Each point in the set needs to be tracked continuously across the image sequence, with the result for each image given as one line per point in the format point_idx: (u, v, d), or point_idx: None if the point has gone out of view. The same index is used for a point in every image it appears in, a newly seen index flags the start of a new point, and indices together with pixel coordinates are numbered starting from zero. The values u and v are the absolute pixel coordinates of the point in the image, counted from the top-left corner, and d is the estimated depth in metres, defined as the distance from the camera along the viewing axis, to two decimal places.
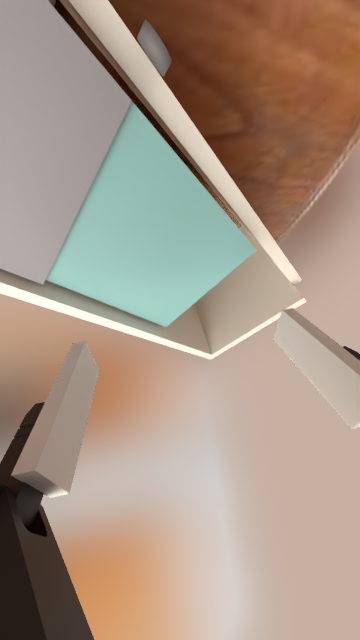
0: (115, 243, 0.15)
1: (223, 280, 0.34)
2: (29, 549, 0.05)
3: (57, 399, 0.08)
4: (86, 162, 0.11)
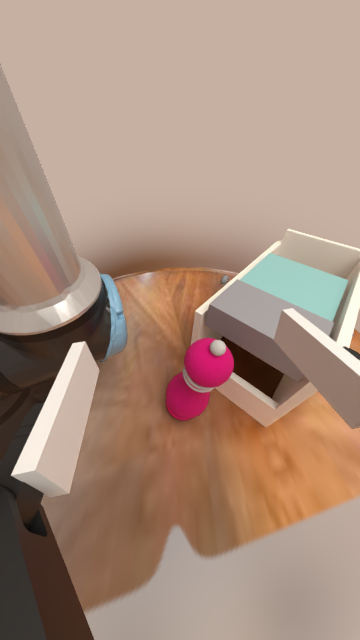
0: (288, 293, 0.29)
1: None
2: (29, 549, 0.05)
3: (57, 399, 0.08)
4: (257, 290, 0.28)
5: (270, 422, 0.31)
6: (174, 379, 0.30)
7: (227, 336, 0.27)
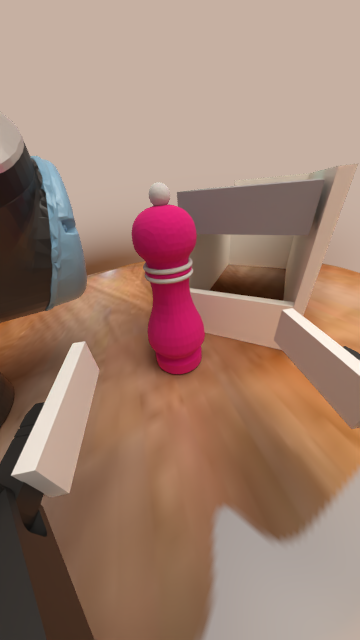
0: None
1: None
2: (29, 549, 0.05)
3: (57, 399, 0.08)
4: None
5: None
6: None
7: (209, 230, 0.22)
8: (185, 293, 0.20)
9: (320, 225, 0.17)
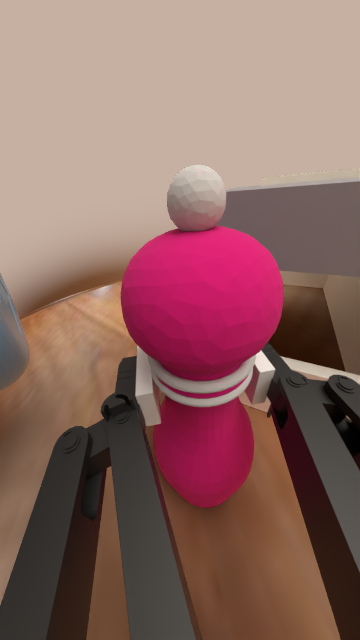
0: None
1: None
2: (149, 460, 0.07)
3: None
4: None
5: None
6: None
7: None
8: (233, 402, 0.09)
9: None
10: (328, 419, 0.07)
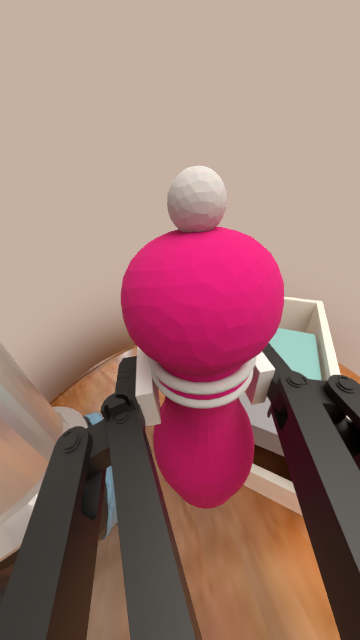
0: None
1: None
2: (149, 460, 0.07)
3: None
4: None
5: None
6: None
7: None
8: (233, 403, 0.09)
9: None
10: (328, 419, 0.07)
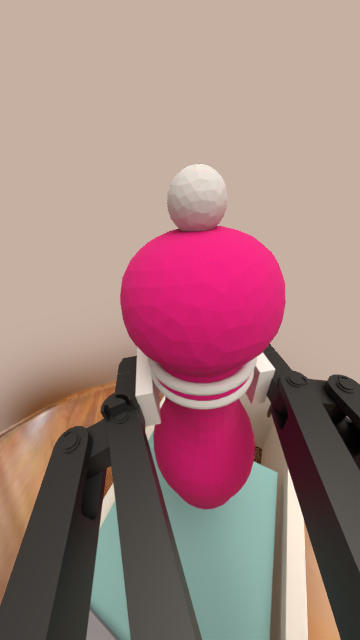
0: None
1: None
2: (149, 460, 0.07)
3: None
4: None
5: None
6: None
7: None
8: (234, 404, 0.09)
9: None
10: (328, 419, 0.07)
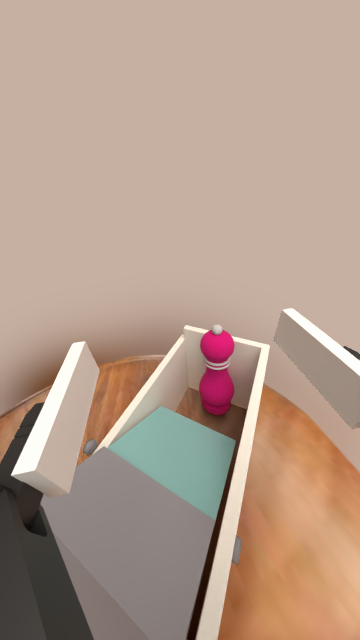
0: (167, 465, 0.22)
1: None
2: (29, 549, 0.05)
3: (57, 399, 0.08)
4: (123, 465, 0.21)
5: None
6: (201, 379, 0.38)
7: None
8: (226, 371, 0.35)
9: None
10: None
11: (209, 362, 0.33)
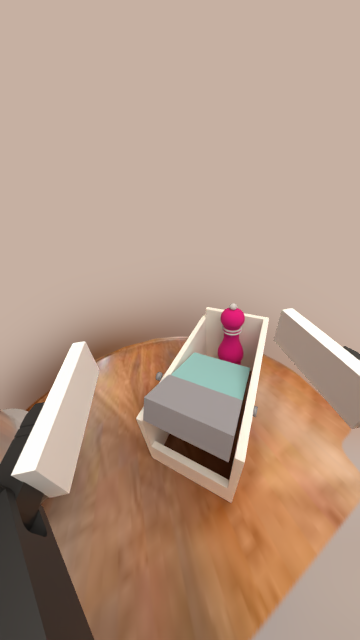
0: (209, 381, 0.36)
1: None
2: (29, 549, 0.05)
3: (57, 399, 0.08)
4: (184, 382, 0.34)
5: (231, 498, 0.33)
6: (219, 346, 0.53)
7: (163, 428, 0.29)
8: (238, 337, 0.49)
9: (232, 469, 0.26)
10: None
11: (227, 330, 0.47)
